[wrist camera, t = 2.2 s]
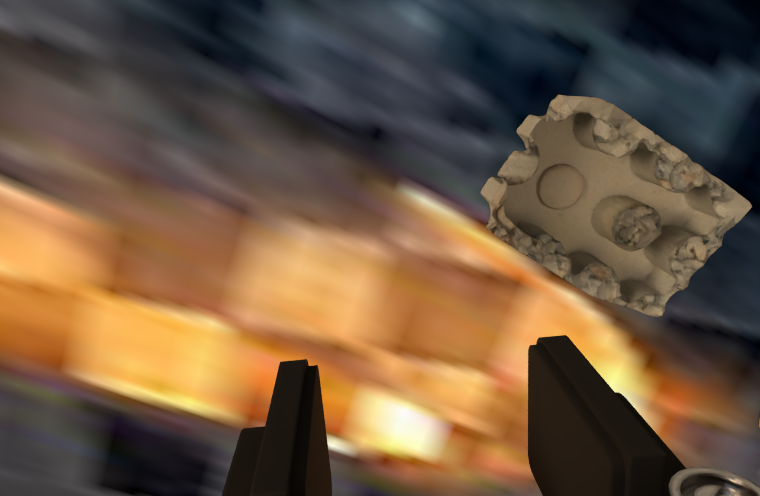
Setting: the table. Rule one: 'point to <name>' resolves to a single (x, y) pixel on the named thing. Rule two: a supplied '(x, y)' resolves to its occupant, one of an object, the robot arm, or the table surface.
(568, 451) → the robot arm
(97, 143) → the table surface
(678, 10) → the table surface
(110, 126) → the table surface
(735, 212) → the tan cratered rock
